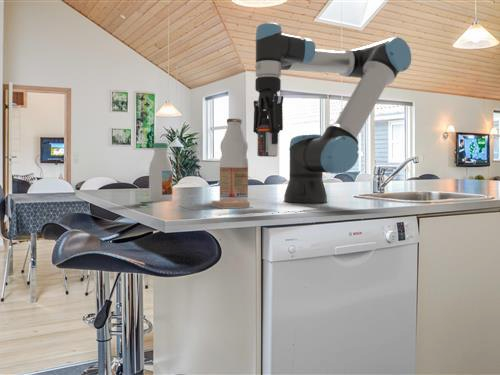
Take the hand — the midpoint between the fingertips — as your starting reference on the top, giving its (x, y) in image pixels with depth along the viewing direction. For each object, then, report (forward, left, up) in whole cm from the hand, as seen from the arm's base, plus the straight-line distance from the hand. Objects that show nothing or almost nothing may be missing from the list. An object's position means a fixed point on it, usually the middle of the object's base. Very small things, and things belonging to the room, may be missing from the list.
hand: (267, 155), depth 133 cm
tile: (+13, -3, -14) cm, 19 cm away
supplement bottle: (0, 0, 0) cm, 1 cm away
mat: (+17, -1, -16) cm, 23 cm away
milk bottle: (+24, -30, -16) cm, 42 cm away
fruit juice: (+3, -17, -16) cm, 24 cm away
